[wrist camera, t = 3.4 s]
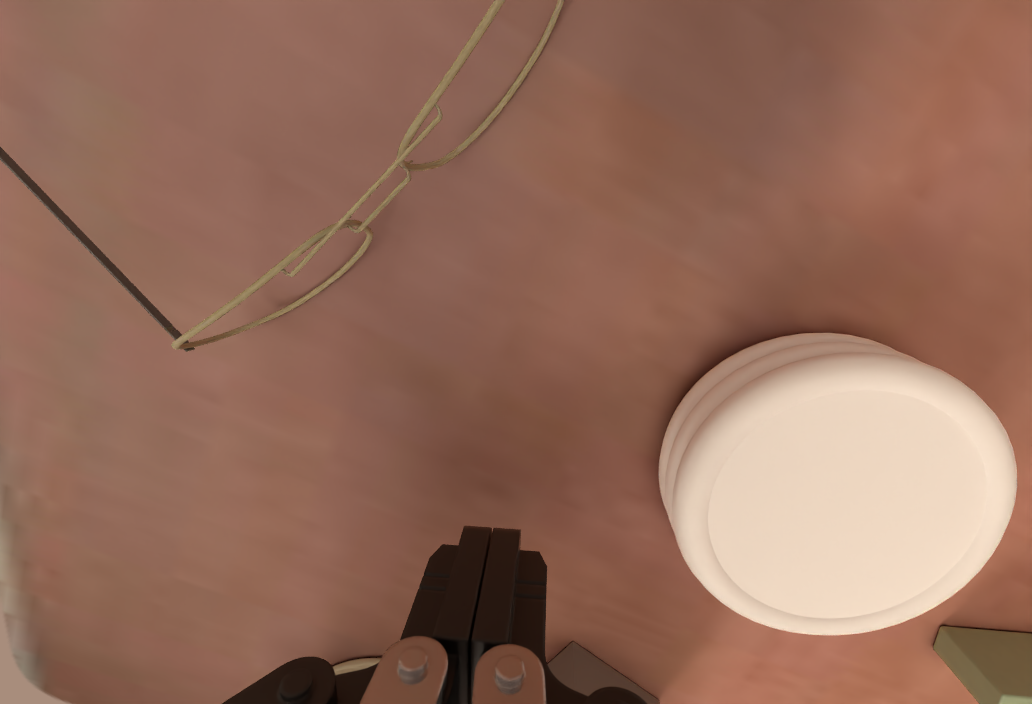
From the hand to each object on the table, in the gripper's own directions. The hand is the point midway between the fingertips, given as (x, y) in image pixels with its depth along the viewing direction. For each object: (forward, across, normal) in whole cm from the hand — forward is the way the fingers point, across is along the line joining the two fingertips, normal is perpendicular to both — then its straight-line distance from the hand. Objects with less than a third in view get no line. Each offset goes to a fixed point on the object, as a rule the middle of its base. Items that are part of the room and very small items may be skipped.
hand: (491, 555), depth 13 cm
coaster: (+6, -10, 0) cm, 12 cm away
